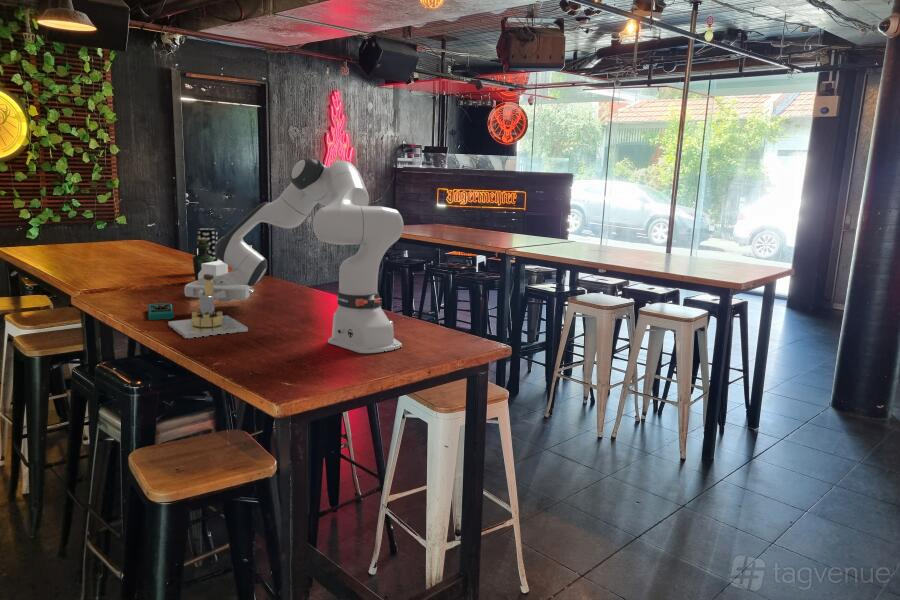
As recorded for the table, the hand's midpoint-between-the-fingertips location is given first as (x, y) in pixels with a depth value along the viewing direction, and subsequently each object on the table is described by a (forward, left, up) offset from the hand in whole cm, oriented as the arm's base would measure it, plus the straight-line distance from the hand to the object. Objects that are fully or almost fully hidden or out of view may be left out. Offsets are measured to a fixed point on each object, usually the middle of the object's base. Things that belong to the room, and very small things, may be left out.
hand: (207, 295), depth 201 cm
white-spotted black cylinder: (+90, -29, -9) cm, 95 cm away
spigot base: (-8, +2, -8) cm, 12 cm away
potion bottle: (+71, -21, -9) cm, 75 cm away
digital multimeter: (+17, +10, -9) cm, 22 cm away
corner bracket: (+45, -17, -9) cm, 49 cm away
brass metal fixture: (-5, +1, -7) cm, 9 cm away
